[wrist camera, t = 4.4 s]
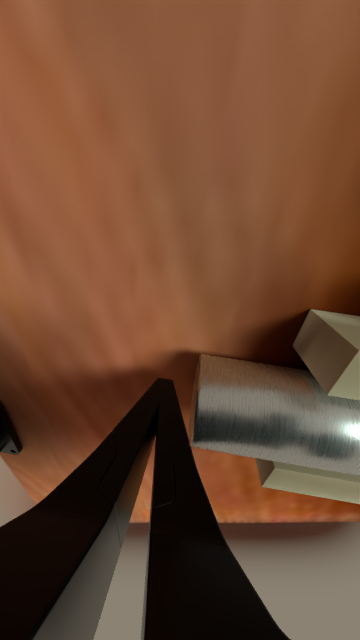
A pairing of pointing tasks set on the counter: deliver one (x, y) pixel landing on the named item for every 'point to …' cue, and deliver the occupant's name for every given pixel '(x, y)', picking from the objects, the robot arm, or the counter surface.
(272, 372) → the axle
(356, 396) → the beam rails
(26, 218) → the counter surface
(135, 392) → the counter surface
